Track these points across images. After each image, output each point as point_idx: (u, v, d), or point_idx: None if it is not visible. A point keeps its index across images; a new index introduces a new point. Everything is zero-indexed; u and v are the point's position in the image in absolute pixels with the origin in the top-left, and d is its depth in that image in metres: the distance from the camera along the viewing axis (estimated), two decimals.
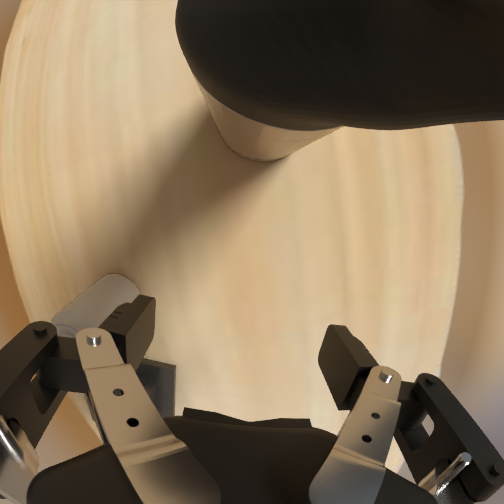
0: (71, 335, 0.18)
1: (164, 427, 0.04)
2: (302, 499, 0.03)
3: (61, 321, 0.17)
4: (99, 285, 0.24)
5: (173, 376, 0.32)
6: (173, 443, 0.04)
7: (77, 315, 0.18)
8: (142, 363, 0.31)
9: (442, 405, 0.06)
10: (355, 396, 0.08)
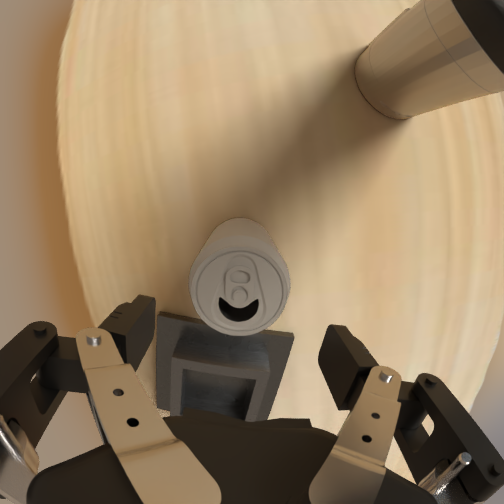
0: (247, 268, 0.15)
1: (164, 427, 0.04)
2: (302, 499, 0.03)
3: (235, 246, 0.15)
4: (239, 222, 0.22)
5: (290, 346, 0.29)
6: (173, 443, 0.04)
7: (255, 240, 0.16)
8: (255, 333, 0.28)
9: (442, 405, 0.06)
10: (355, 396, 0.08)
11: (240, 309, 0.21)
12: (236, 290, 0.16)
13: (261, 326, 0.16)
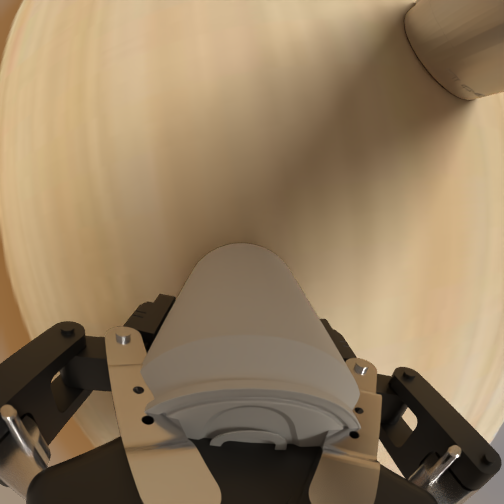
0: (269, 428, 0.05)
1: (178, 428, 0.04)
2: (302, 499, 0.03)
3: (233, 387, 0.04)
4: (241, 259, 0.11)
5: None
6: (184, 444, 0.04)
7: (291, 349, 0.05)
8: None
9: (424, 399, 0.06)
10: None
11: None
12: None
13: None
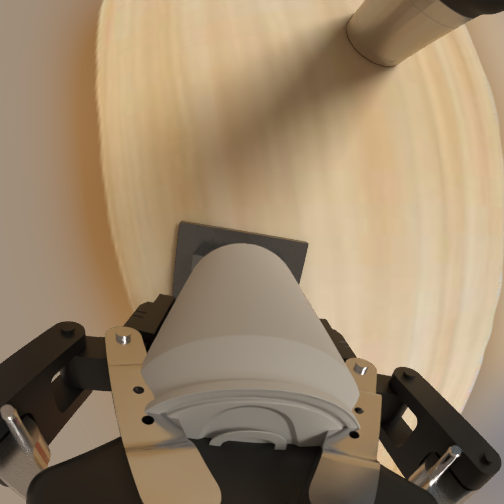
0: (269, 428, 0.05)
1: (178, 428, 0.04)
2: (302, 499, 0.03)
3: (232, 387, 0.04)
4: (241, 259, 0.11)
5: (305, 253, 0.32)
6: (184, 444, 0.04)
7: (290, 349, 0.05)
8: (272, 238, 0.31)
9: (424, 399, 0.06)
10: None
11: None
12: None
13: None
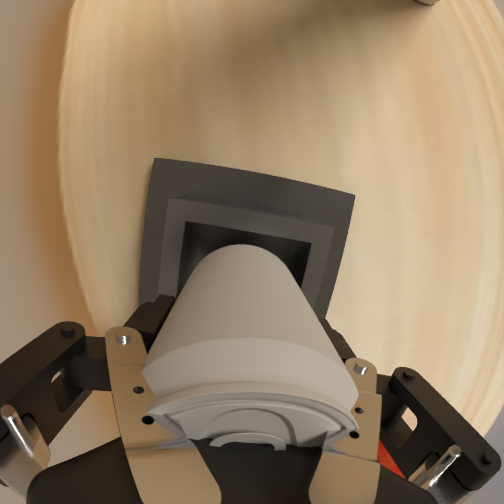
0: (268, 430, 0.05)
1: (178, 428, 0.04)
2: (302, 499, 0.03)
3: (232, 390, 0.04)
4: (241, 261, 0.11)
5: (350, 210, 0.19)
6: (184, 444, 0.04)
7: (290, 351, 0.05)
8: (300, 183, 0.19)
9: (423, 399, 0.06)
10: None
11: None
12: None
13: None
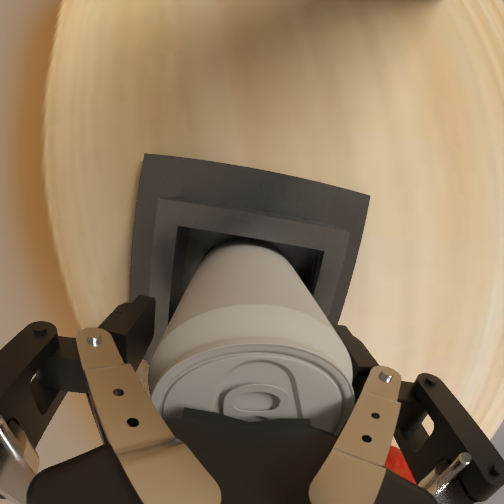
0: (274, 384, 0.06)
1: (164, 427, 0.04)
2: (302, 499, 0.03)
3: (246, 343, 0.06)
4: (247, 251, 0.13)
5: (365, 212, 0.17)
6: (173, 443, 0.04)
7: (292, 316, 0.07)
8: (310, 182, 0.17)
9: (442, 405, 0.06)
10: (355, 396, 0.08)
11: None
12: (248, 421, 0.06)
13: None
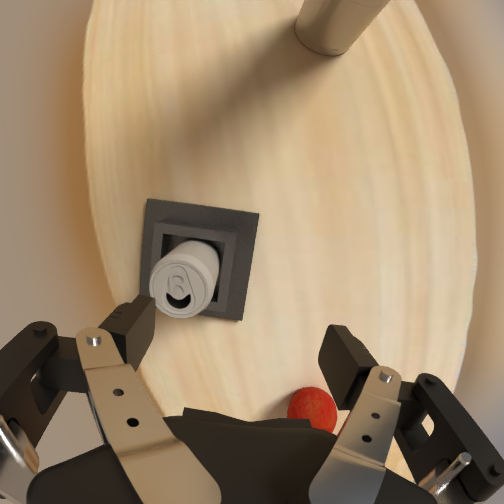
0: (182, 274, 0.24)
1: (164, 427, 0.04)
2: (302, 499, 0.03)
3: (173, 260, 0.24)
4: (189, 242, 0.31)
5: (257, 222, 0.35)
6: (173, 443, 0.04)
7: (188, 256, 0.25)
8: (225, 209, 0.35)
9: (442, 405, 0.06)
10: (355, 396, 0.08)
11: (189, 303, 0.29)
12: (176, 288, 0.24)
13: (194, 312, 0.25)
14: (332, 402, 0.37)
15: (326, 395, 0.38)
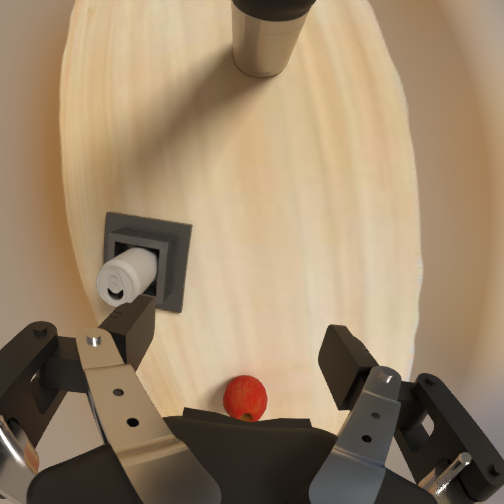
0: (116, 275, 0.31)
1: (164, 427, 0.04)
2: (302, 499, 0.03)
3: (110, 265, 0.30)
4: (132, 249, 0.38)
5: (189, 232, 0.42)
6: (173, 443, 0.04)
7: (121, 262, 0.31)
8: (165, 222, 0.41)
9: (442, 405, 0.06)
10: (355, 396, 0.08)
11: None
12: (113, 285, 0.31)
13: None
14: (261, 391, 0.44)
15: (256, 384, 0.45)
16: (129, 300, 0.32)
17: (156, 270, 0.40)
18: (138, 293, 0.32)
